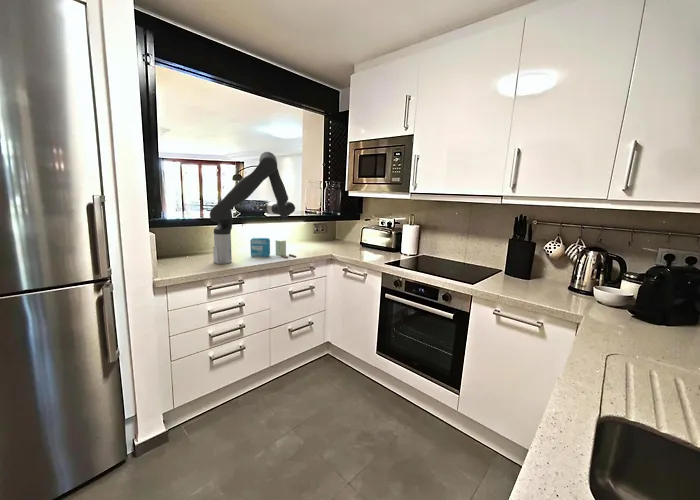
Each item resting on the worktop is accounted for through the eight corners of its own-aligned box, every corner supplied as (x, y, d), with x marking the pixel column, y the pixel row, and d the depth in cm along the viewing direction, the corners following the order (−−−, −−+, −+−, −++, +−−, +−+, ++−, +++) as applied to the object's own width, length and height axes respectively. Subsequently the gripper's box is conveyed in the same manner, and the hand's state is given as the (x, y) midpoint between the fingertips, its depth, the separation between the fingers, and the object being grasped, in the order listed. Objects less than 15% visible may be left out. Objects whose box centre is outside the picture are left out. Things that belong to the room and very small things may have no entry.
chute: (286, 258, 202) (286, 257, 202) (280, 256, 207) (280, 255, 207) (296, 257, 207) (296, 255, 207) (290, 255, 212) (290, 254, 212)
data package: (250, 256, 204) (250, 238, 202) (251, 255, 209) (251, 237, 207) (269, 256, 206) (269, 238, 204) (270, 255, 210) (269, 237, 208)
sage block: (280, 255, 210) (280, 241, 208) (275, 254, 214) (275, 240, 212) (286, 255, 213) (285, 240, 211) (281, 253, 217) (281, 239, 215)
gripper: (281, 202, 204) (269, 201, 216) (262, 202, 195) (250, 201, 206) (282, 213, 206) (269, 212, 217) (262, 214, 196) (250, 212, 207)
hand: (259, 207), depth 211 cm, fingers open, 8 cm apart
